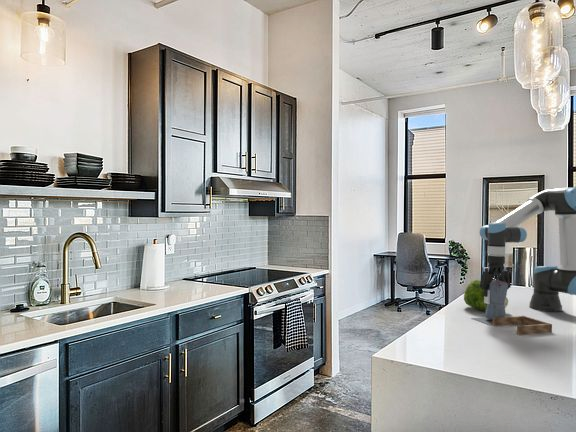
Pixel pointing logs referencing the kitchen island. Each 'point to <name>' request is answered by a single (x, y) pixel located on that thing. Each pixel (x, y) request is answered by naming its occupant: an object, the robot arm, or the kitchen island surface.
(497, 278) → the moka pot
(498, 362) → the kitchen island surface
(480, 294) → the lettuce
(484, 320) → the mat
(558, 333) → the kitchen island surface
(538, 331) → the brown wooden frame
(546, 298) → the robot arm
